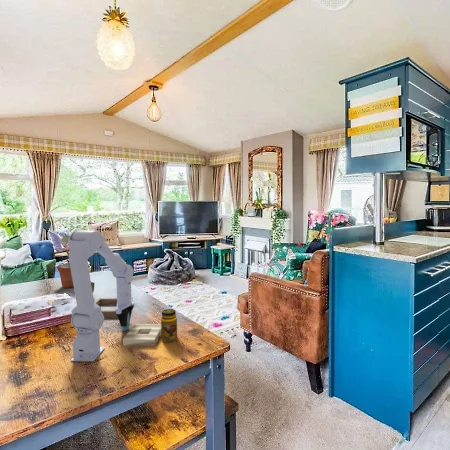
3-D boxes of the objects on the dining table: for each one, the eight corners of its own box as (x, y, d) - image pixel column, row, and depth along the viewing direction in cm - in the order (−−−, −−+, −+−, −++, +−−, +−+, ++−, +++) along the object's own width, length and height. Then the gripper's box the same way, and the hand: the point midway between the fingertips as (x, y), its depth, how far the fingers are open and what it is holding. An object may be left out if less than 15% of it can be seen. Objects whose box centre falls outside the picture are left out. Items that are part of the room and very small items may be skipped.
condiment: (170, 346, 116) (169, 315, 115) (153, 341, 120) (152, 311, 119) (182, 338, 122) (181, 309, 121) (165, 334, 127) (165, 305, 125)
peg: (128, 331, 128) (127, 312, 127) (119, 331, 128) (119, 312, 127) (131, 327, 132) (130, 309, 131) (122, 327, 132) (122, 309, 131)
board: (154, 345, 116) (154, 339, 115) (123, 345, 116) (122, 339, 116) (163, 329, 129) (163, 324, 129) (135, 329, 130) (134, 324, 130)
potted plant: (84, 287, 192) (82, 231, 189) (57, 290, 186) (53, 232, 183) (86, 281, 206) (83, 229, 203) (60, 283, 201) (57, 230, 197)
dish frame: (119, 317, 143) (119, 311, 143) (82, 317, 143) (82, 311, 143) (132, 304, 161) (132, 298, 161) (99, 304, 162) (99, 298, 161)
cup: (89, 299, 168) (89, 285, 168) (77, 299, 170) (77, 284, 169) (97, 295, 176) (97, 281, 175) (86, 294, 177) (85, 281, 176)
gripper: (127, 298, 121) (129, 331, 122) (139, 287, 136) (140, 317, 137) (109, 298, 121) (111, 331, 123) (123, 287, 136) (124, 317, 137)
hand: (125, 324), depth 130 cm, fingers closed on peg, 3 cm apart
